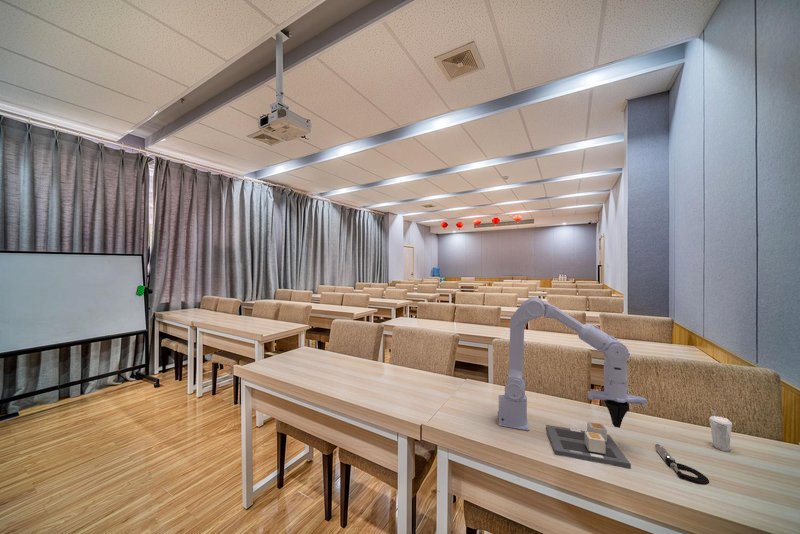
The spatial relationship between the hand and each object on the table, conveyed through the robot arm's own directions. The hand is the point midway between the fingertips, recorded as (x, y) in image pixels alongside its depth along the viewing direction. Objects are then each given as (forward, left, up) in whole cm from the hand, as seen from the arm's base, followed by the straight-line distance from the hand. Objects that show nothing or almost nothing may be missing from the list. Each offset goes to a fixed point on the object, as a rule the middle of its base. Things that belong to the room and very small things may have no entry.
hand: (616, 425), depth 87 cm
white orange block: (-5, 0, -4) cm, 7 cm away
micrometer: (+13, -5, -7) cm, 16 cm away
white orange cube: (-8, -7, -4) cm, 11 cm away
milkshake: (+30, +10, -6) cm, 32 cm away
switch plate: (-10, -3, -6) cm, 12 cm away
